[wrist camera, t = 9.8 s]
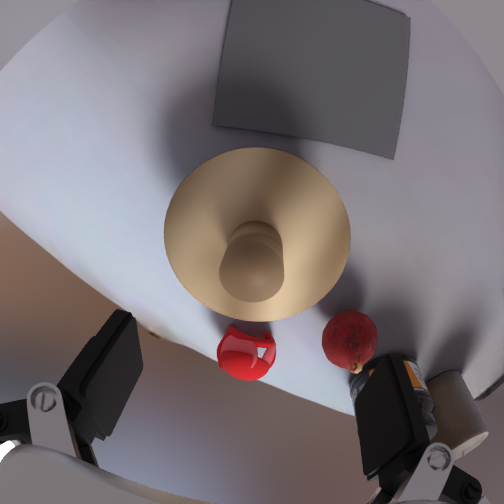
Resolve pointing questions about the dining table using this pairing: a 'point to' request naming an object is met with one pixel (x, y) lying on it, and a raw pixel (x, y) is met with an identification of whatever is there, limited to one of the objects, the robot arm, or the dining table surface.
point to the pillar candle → (456, 414)
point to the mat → (316, 71)
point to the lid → (257, 234)
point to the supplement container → (418, 385)
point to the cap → (245, 354)
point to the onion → (349, 340)
